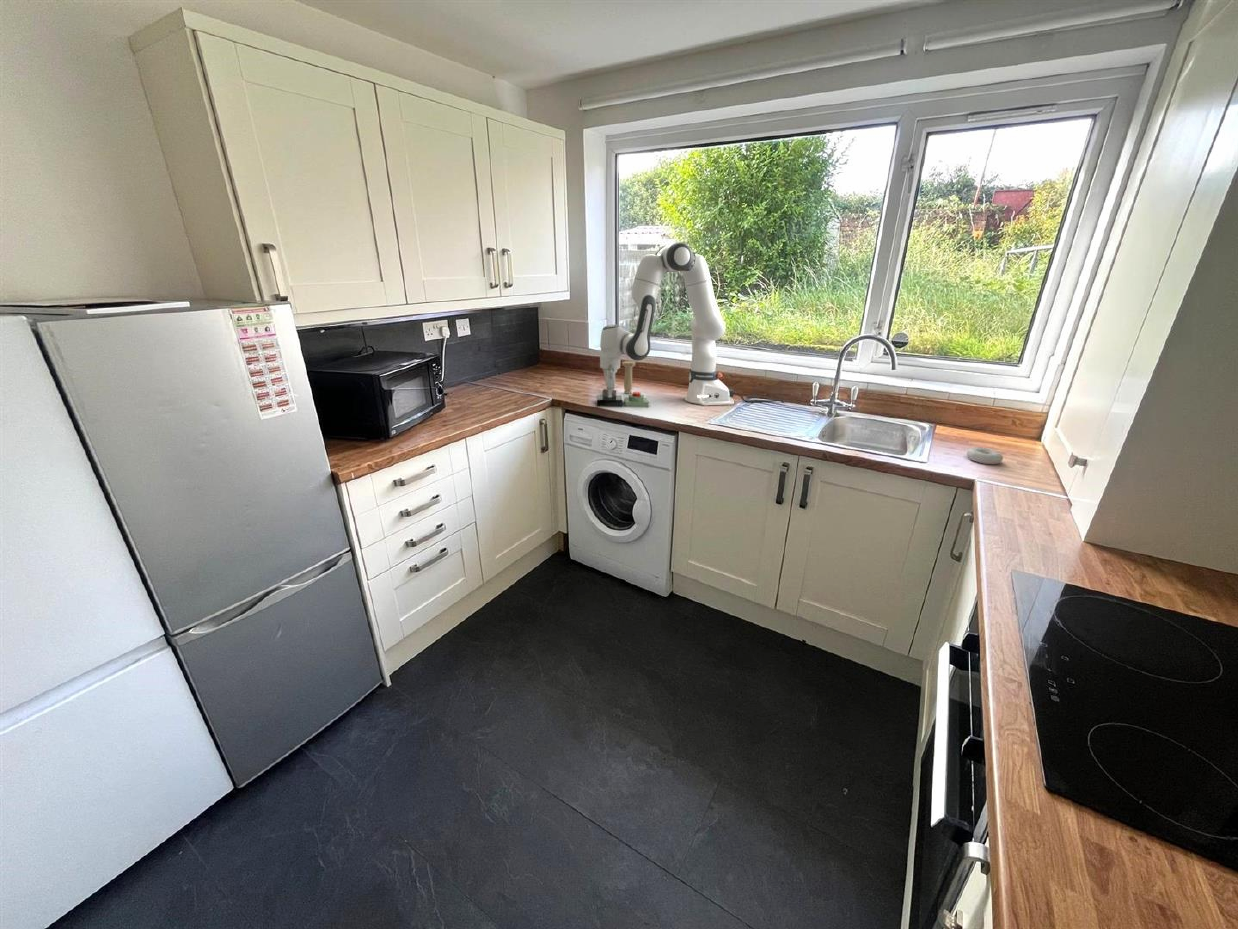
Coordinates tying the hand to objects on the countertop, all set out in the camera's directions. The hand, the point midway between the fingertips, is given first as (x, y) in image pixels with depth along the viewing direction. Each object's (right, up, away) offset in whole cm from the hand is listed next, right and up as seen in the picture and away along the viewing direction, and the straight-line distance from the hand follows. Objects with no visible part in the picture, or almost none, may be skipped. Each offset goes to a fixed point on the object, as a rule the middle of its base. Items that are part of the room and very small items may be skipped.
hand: (609, 395), depth 219 cm
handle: (+9, +4, +22) cm, 24 cm away
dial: (0, -1, 0) cm, 1 cm away
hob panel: (0, -4, +1) cm, 4 cm away
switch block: (+12, -4, +2) cm, 13 cm away
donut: (+127, -29, -52) cm, 140 cm away
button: (+12, 0, +1) cm, 12 cm away
